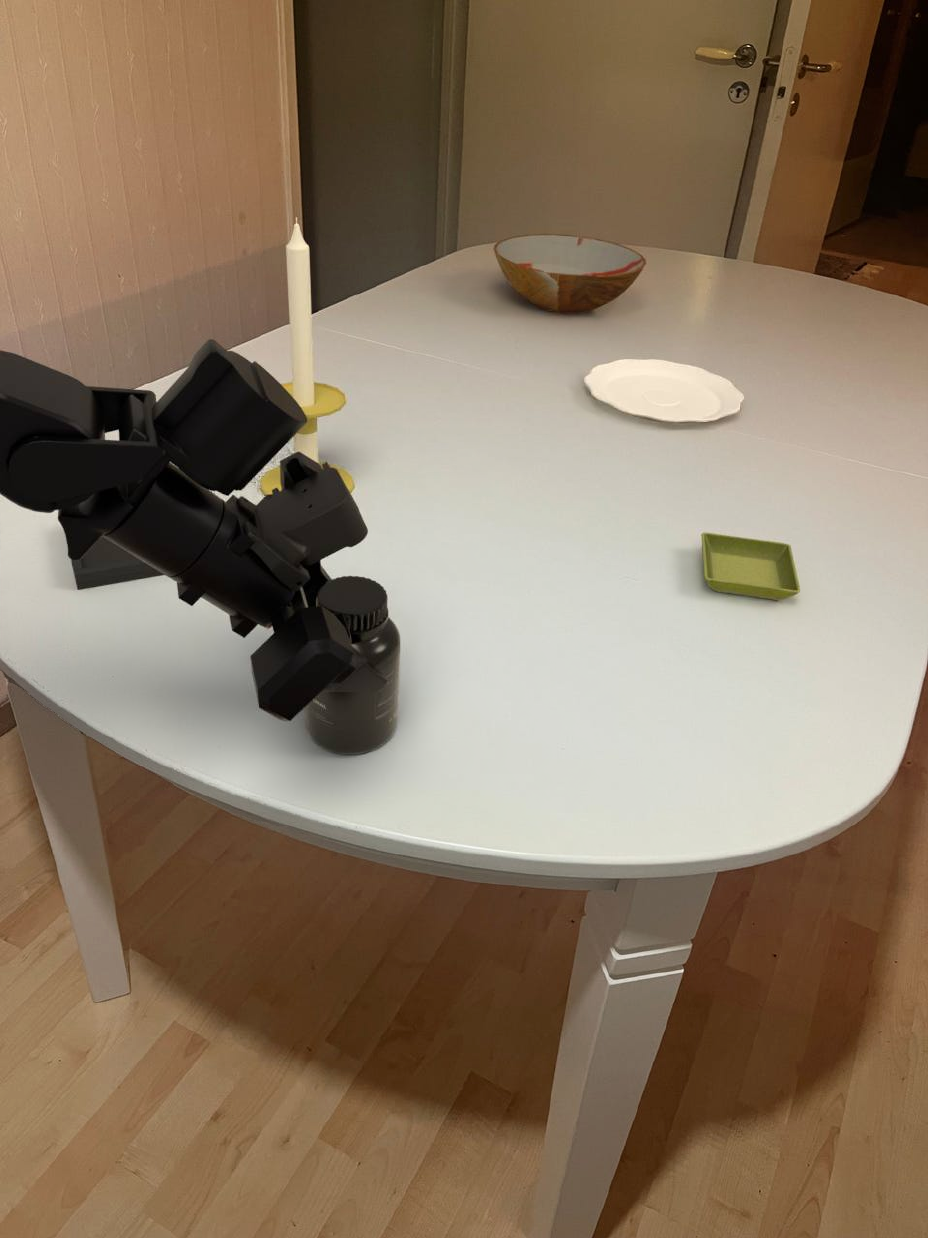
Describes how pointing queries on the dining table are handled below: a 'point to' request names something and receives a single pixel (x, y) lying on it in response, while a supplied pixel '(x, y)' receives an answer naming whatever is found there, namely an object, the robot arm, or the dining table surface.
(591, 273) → the bowl
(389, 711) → the supplement bottle
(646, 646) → the dining table surface
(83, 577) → the dock pad
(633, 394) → the plate
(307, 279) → the candle
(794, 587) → the olive green square dish
